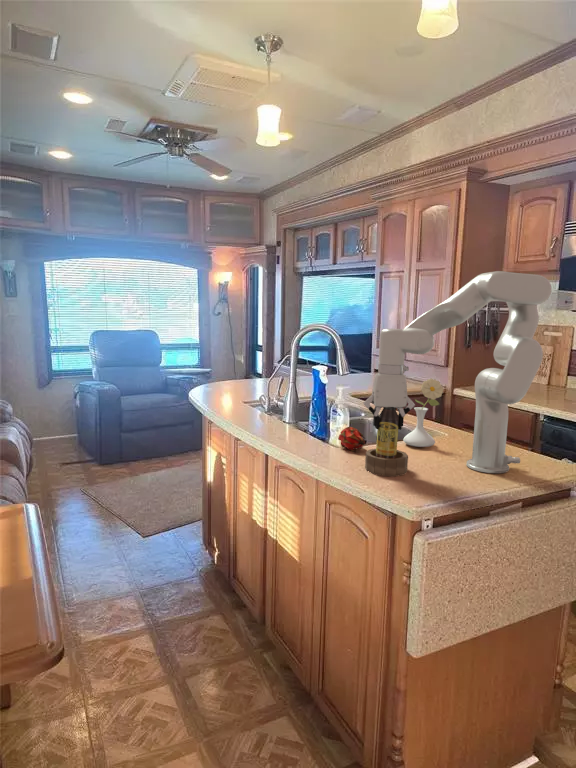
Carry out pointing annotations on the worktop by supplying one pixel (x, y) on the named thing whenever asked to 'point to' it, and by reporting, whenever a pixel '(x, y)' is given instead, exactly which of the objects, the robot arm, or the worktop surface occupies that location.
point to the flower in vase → (419, 434)
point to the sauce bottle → (387, 434)
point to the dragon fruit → (351, 438)
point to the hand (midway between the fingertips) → (387, 427)
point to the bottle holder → (386, 464)
